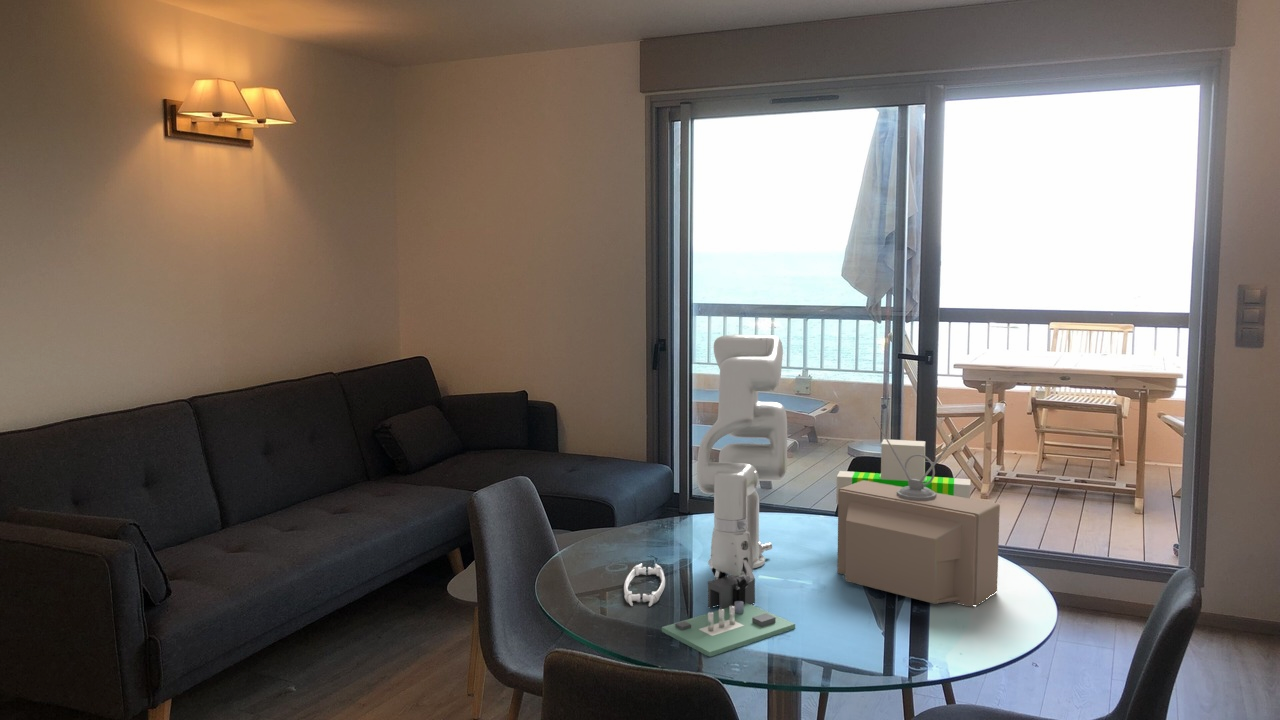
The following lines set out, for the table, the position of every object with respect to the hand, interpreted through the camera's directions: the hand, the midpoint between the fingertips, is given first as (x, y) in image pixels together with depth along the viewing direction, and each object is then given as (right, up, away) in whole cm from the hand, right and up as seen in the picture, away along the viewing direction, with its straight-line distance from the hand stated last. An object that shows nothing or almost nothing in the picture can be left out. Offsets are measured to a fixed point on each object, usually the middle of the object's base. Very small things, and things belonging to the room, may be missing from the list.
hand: (730, 600), depth 215 cm
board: (-2, -3, -14) cm, 14 cm away
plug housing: (0, -1, 0) cm, 1 cm away
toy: (+50, +3, +37) cm, 62 cm away
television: (+44, 0, +12) cm, 46 cm away
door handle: (-20, -1, +13) cm, 23 cm away
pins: (-3, -3, -15) cm, 16 cm away
